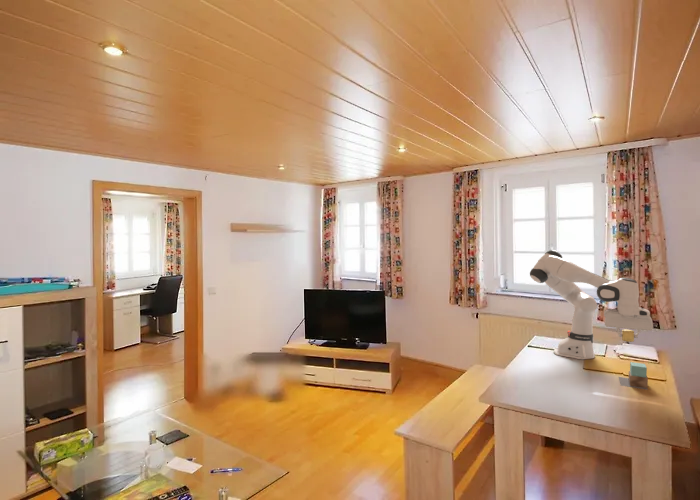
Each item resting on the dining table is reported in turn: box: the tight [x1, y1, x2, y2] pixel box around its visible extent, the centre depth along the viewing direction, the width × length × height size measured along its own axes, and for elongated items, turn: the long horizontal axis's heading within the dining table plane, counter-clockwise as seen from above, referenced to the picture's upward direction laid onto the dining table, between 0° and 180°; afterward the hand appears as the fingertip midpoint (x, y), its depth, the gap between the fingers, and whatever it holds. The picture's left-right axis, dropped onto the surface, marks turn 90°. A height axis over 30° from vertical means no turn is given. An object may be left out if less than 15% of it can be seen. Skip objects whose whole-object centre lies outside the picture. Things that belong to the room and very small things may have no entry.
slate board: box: [618, 376, 649, 391], centre depth 200 cm, size 11×13×1 cm
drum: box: [621, 329, 635, 343], centre depth 202 cm, size 5×5×5 cm
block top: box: [629, 361, 648, 378], centre depth 198 cm, size 6×6×5 cm
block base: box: [628, 370, 649, 388], centre depth 198 cm, size 7×7×5 cm
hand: (628, 337), depth 202 cm, fingers closed on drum, 5 cm apart
